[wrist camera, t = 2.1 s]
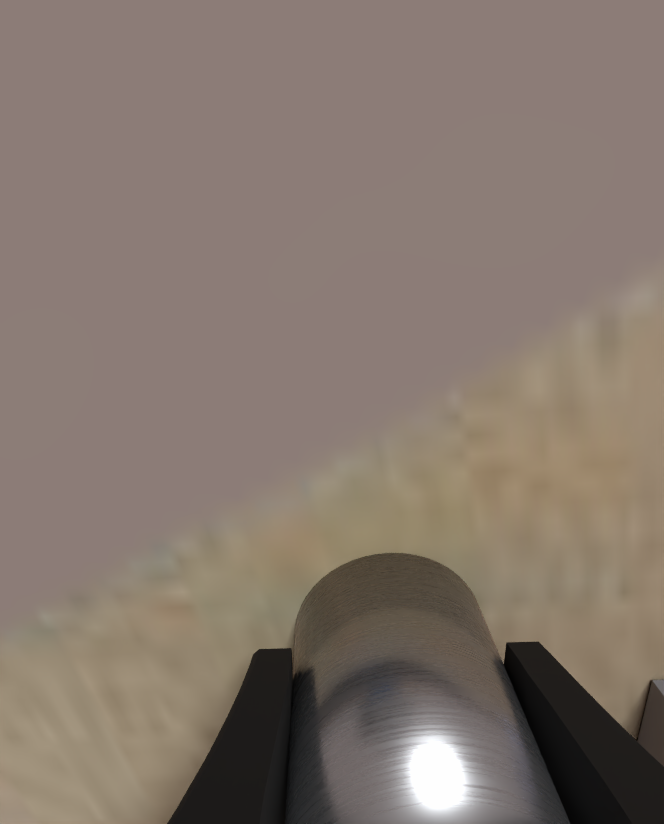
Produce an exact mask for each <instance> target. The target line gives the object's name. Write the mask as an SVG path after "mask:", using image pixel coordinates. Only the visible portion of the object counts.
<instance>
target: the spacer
mask: <svg viewBox="0 0 664 824" xmlns="http://www.w3.org/2000/svg"><path fill="white" fill-rule="evenodd" d="M285 824H570V822H569V819H568V817H567V814H566V812H565V810H564V807H563V805H562V803H561V800H560V798H559V795H558V793H557V791H556V788H555V786H554V784H553V781H552V779H551V776H550V774H549V772H548V769H547V767H546V764H545V762H544V760H543V757H542V755H541V753H540V750H539V748H538V745H537V743H536V741H535V738H534V736H533V734H532V731H531V729H530V726H529V724H528V722H527V719H526V717H525V715H524V712H523V710H522V707H521V705H520V703H519V700H518V698H517V695H516V693H515V691H514V688H513V686H512V684H511V681H510V679H509V676H508V674H507V672H506V669H505V667H504V665H503V662H502V660H501V657H500V655H499V653H498V650H497V648H496V645H495V643H494V641H493V638H492V636H491V634H490V631H489V629H488V626H487V624H486V622H485V619H484V617H483V615H482V612H481V610H480V607H479V605H478V603H477V600H476V598H475V596H474V594H473V592H472V591H471V590H470V588H469V587H468V585H467V584H466V583H465V582H464V581H463V580H462V579H461V578H460V577H459V576H458V575H457V574H456V573H454V572H453V571H452V570H450V569H449V568H447V567H445V566H444V565H442V564H440V563H438V562H435V561H433V560H431V559H428V558H424V557H421V556H417V555H411V554H404V553H385V554H376V555H371V556H365V557H362V558H359V559H356V560H353V561H351V562H348V563H346V564H344V565H342V566H340V567H338V568H336V569H335V570H333V571H331V572H330V573H329V574H327V575H326V576H325V577H324V578H322V579H321V580H320V581H319V582H318V583H317V584H316V585H315V586H314V587H313V588H312V590H311V591H310V592H309V594H308V595H307V596H306V598H305V600H304V602H303V603H302V605H301V608H300V610H299V613H298V616H297V621H296V626H295V645H294V664H293V684H292V703H291V722H290V739H289V758H288V777H287V796H286V814H285Z"/></svg>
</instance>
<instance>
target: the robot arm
mask: <svg viewBox="0 0 664 824" xmlns="http://www.w3.org/2000/svg"><path fill="white" fill-rule="evenodd" d="M504 667H505V669H506V672H507V674H508V676H509V679H510V681H511V684H512V686H513V688H514V691H515V693H516V695H517V698H518V700H519V703H520V705H521V707H522V710H523V712H524V715H525V717H526V719H527V722H528V724H529V726H530V729H531V731H532V734H533V736H534V738H535V741H536V743H537V745H538V748H539V750H540V753H541V755H542V757H543V760H544V762H545V764H546V767H547V769H548V772H549V774H550V776H551V779H552V781H553V784H554V786H555V788H556V791H557V793H558V795H559V798H560V800H561V803H562V805H563V807H564V810H565V812H566V814H567V817H568V819H569V822H570V824H664V766H663V765H662V764H660V763H659V762H658V761H657V760H656V759H655V758H654V757H653V756H652V755H651V754H650V753H649V752H648V751H647V750H646V749H644V748H643V747H642V746H641V745H640V744H639V743H638V742H637V741H636V740H635V739H634V738H633V737H632V736H631V735H630V734H629V733H628V732H627V731H626V730H625V729H624V728H623V727H622V726H621V725H620V724H619V723H618V722H617V721H616V720H615V719H614V718H613V717H612V716H611V715H610V714H609V713H608V712H607V711H606V710H605V709H604V708H603V707H602V706H601V705H600V704H599V703H598V702H597V701H596V700H595V699H594V698H593V697H592V696H591V695H590V694H589V693H588V692H587V691H586V690H585V689H584V688H583V687H582V686H581V685H580V684H579V683H578V682H577V681H576V680H575V679H574V678H573V677H572V676H571V675H570V674H569V673H568V671H567V670H566V669H565V668H564V667H563V666H562V665H561V664H560V663H559V662H558V661H557V660H556V659H555V658H554V657H553V656H552V655H551V654H550V653H549V652H548V651H547V650H546V649H545V648H544V647H543V646H542V645H541V644H540V643H539V642H510V643H506V651H505V659H504ZM292 684H293V673H292V650H291V648H287V649H259V650H258V651H257V652H255V653H254V654H253V657H252V660H251V663H250V666H249V669H248V671H247V674H246V676H245V679H244V681H243V684H242V686H241V688H240V691H239V693H238V695H237V697H236V699H235V702H234V704H233V706H232V708H231V710H230V712H229V714H228V717H227V718H226V720H225V722H224V724H223V726H222V728H221V730H220V732H219V734H218V736H217V738H216V740H215V742H214V744H213V746H212V748H211V750H210V752H209V753H208V755H207V757H206V759H205V761H204V763H203V764H202V766H201V768H200V770H199V771H198V773H197V775H196V776H195V778H194V780H193V782H192V783H191V785H190V787H189V788H188V790H187V792H186V794H185V795H184V797H183V799H182V800H181V802H180V804H179V806H178V807H177V809H176V811H175V812H174V814H173V815H172V817H171V819H170V820H169V822H168V823H167V824H285V814H286V796H287V777H288V758H289V739H290V722H291V703H292Z"/></svg>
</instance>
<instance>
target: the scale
mask: <svg viewBox="0 0 664 824" xmlns="http://www.w3.org/2000/svg"><path fill="white" fill-rule="evenodd" d="M637 742H638V743H639V744H640V745H641V746H642V747H643V748H644V749H646V750H647V751H648V752H649V753H650V754H651V755H652V756H653V757H654V758H655V759H656V760H657V761H658V762H659V763H660V764H662V765H663V766H664V680H652V683H651V687H650V691H649V695H648V699H647V704H646V708H645V712H644V716H643V720H642V724H641V729H640V733H639V737H638V741H637Z"/></svg>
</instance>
